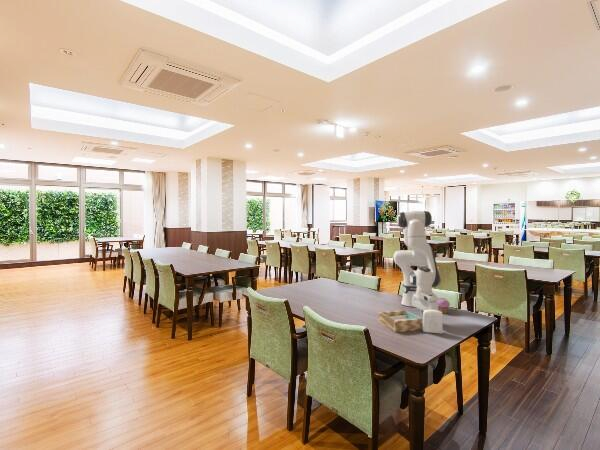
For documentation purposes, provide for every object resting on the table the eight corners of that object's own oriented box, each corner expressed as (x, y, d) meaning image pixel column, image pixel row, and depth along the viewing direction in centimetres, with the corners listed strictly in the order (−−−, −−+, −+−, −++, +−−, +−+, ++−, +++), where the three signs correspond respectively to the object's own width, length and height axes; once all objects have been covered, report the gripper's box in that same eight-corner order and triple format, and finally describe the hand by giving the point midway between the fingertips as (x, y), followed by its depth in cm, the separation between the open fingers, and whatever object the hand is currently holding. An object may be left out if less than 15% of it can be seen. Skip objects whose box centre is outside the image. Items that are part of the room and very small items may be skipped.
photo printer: (441, 331, 175) (441, 309, 174) (443, 334, 170) (443, 311, 170) (421, 330, 177) (422, 308, 177) (423, 332, 173) (423, 310, 172)
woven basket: (404, 319, 195) (404, 309, 195) (423, 329, 178) (423, 318, 178) (378, 322, 190) (378, 312, 190) (395, 332, 173) (395, 321, 173)
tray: (407, 318, 193) (407, 311, 193) (422, 325, 180) (422, 318, 180) (383, 320, 189) (383, 313, 189) (396, 328, 175) (396, 320, 175)
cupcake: (444, 311, 214) (444, 296, 213) (452, 314, 205) (452, 299, 205) (432, 311, 212) (432, 296, 212) (440, 315, 204) (440, 300, 203)
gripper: (409, 291, 198) (409, 313, 198) (430, 299, 178) (430, 323, 178) (418, 290, 199) (417, 312, 200) (440, 298, 179) (440, 322, 180)
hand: (424, 317), depth 189 cm, fingers closed
